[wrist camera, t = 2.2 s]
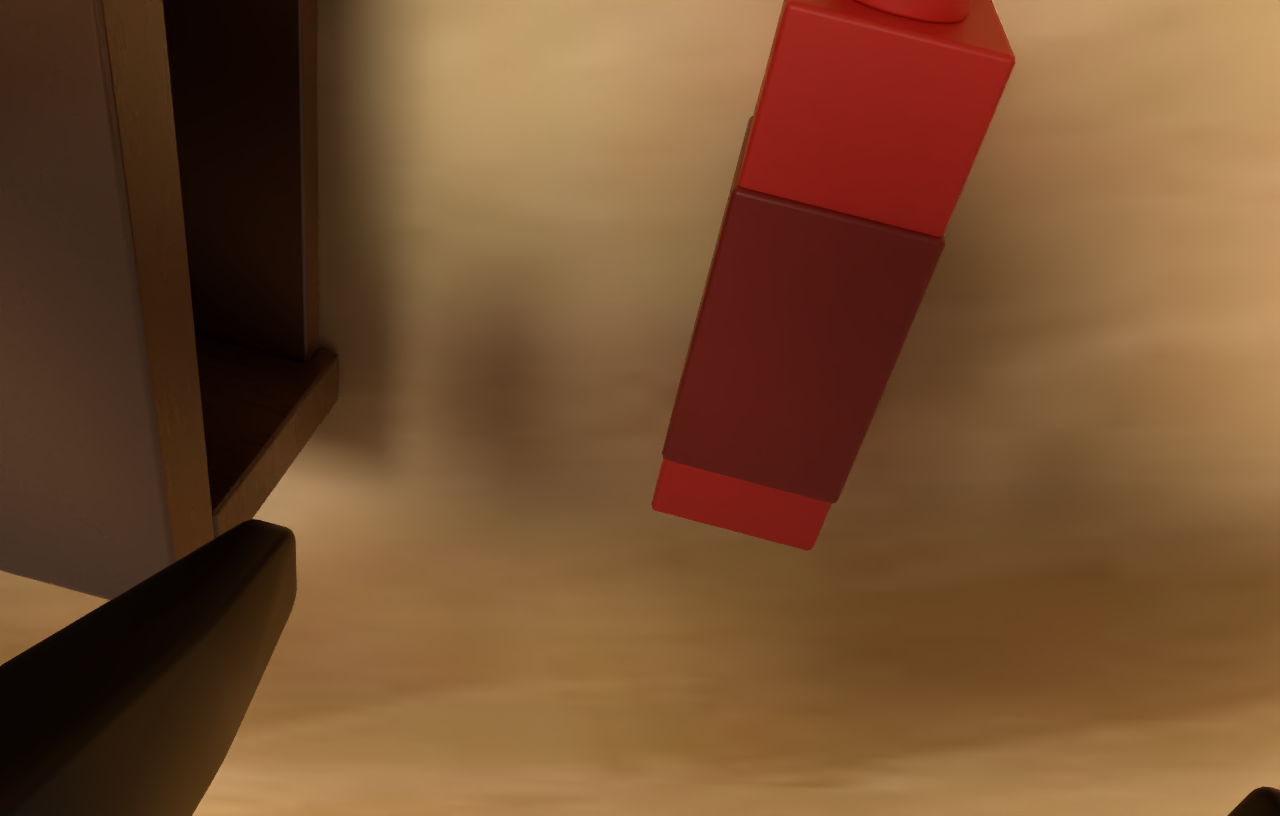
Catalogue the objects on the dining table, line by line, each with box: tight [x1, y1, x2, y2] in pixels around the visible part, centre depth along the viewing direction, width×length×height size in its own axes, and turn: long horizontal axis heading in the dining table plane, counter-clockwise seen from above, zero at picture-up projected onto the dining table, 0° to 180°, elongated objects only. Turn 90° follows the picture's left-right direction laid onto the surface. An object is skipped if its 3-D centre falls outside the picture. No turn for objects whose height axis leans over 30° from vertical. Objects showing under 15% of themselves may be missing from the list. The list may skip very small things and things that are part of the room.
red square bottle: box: [652, 0, 1015, 551], centre depth 15 cm, size 10×3×3 cm, turn 169°
